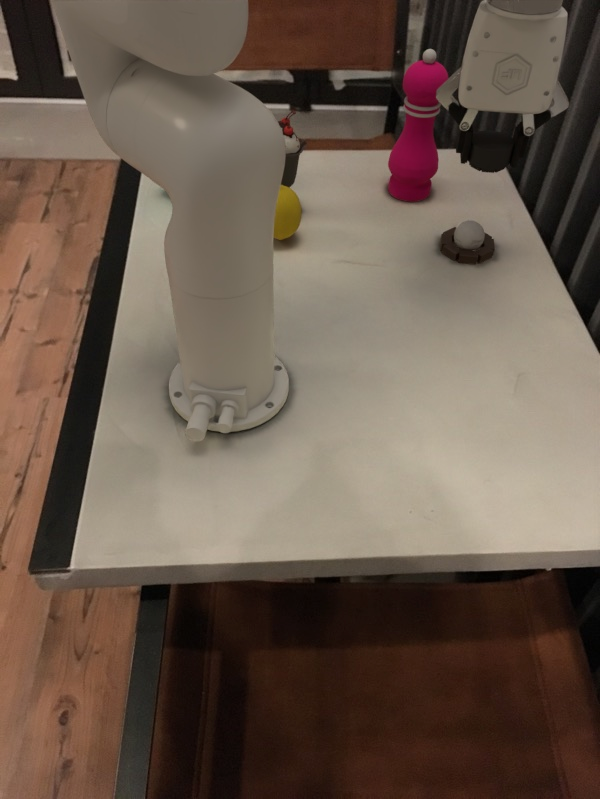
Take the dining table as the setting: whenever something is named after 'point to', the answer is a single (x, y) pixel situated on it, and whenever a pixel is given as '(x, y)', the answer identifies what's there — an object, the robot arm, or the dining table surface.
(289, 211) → the lemon
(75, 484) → the dining table surface
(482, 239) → the golf ball
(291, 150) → the sundae
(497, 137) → the puck
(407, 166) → the pepper mill
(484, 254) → the tee ring
